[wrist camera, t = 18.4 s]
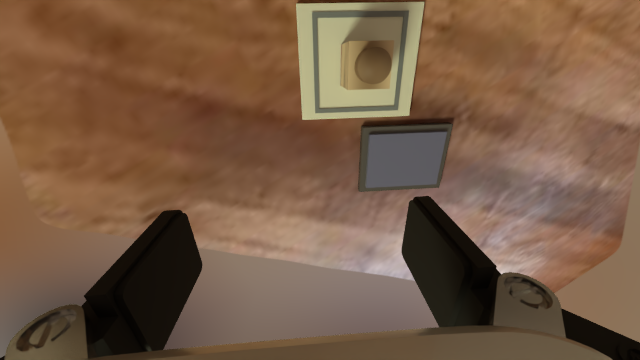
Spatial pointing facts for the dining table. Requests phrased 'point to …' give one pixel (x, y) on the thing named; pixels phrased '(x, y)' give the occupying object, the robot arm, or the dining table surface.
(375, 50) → the stamp
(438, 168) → the grey flat block
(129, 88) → the dining table surface
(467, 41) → the dining table surface
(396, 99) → the board
